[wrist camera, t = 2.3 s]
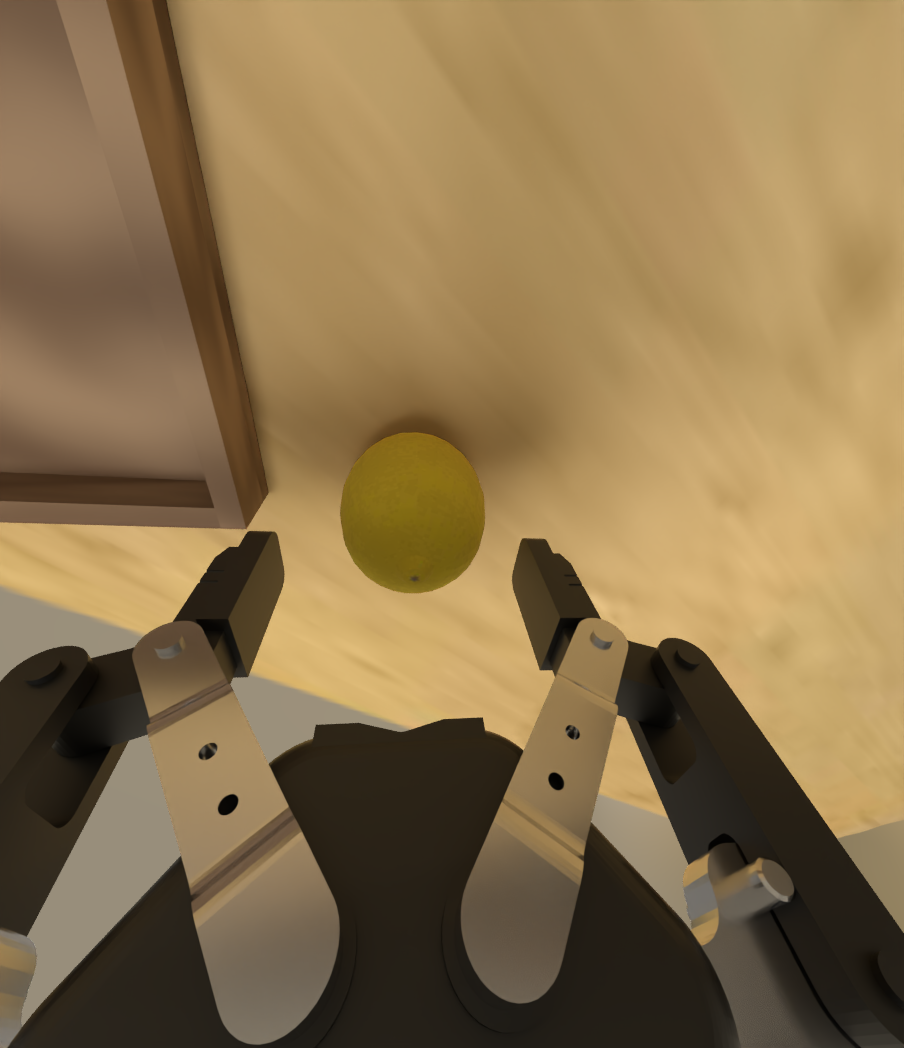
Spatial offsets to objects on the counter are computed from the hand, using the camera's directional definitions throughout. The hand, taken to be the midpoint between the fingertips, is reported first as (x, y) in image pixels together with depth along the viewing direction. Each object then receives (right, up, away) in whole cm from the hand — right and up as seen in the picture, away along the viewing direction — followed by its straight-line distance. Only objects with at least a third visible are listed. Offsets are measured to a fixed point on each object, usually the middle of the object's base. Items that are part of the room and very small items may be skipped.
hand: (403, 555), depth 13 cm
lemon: (0, +4, +6) cm, 7 cm away
